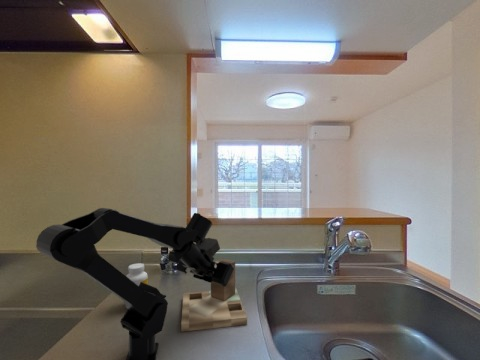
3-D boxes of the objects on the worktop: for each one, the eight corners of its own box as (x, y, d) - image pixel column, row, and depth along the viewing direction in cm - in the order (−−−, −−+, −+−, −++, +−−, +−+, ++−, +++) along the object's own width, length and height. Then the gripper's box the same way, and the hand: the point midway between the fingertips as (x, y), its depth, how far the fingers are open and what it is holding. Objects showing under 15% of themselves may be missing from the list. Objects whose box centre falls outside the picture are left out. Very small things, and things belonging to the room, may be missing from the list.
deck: (247, 324, 71) (247, 317, 71) (181, 331, 68) (181, 324, 68) (236, 294, 89) (236, 288, 89) (183, 299, 85) (183, 293, 85)
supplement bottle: (147, 298, 86) (147, 261, 85) (148, 308, 79) (147, 267, 79) (126, 302, 83) (125, 263, 83) (124, 312, 77) (124, 270, 77)
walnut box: (224, 301, 80) (224, 266, 79) (210, 296, 83) (210, 263, 83) (235, 294, 85) (235, 261, 84) (222, 289, 88) (222, 258, 88)
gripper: (230, 236, 71) (250, 263, 80) (183, 227, 81) (206, 253, 91) (211, 273, 64) (236, 298, 74) (163, 259, 75) (190, 282, 84)
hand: (216, 280), depth 81 cm, fingers closed
